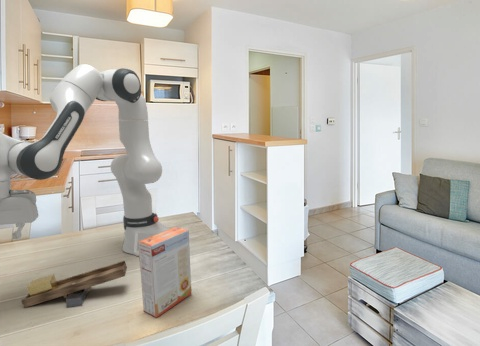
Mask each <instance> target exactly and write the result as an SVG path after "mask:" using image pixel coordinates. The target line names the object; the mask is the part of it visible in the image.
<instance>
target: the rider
mask: <svg viewBox="0 0 480 346" xmlns="http://www.w3.org/2000/svg"><path fill="white" fill-rule="evenodd" d="M57 281H58V280H57V278H56V277H55V274H51V275H47V276H44V277H40V278H38V279H34V280H32V281H31V282H30V283H29V284H28V286H27V287H26V290H27V292H28V294H29V295H30V297H32V296H35V295H38V294H41V293H45V292H48V291H51V290H54V289H57V287H58V284H57Z"/></svg>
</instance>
